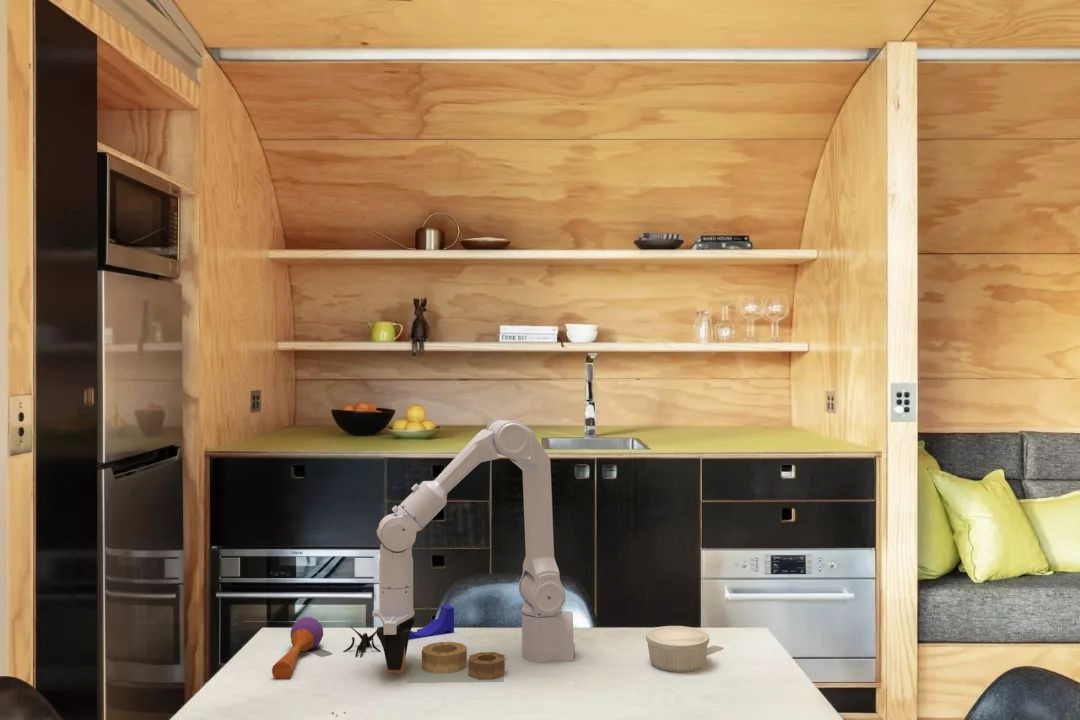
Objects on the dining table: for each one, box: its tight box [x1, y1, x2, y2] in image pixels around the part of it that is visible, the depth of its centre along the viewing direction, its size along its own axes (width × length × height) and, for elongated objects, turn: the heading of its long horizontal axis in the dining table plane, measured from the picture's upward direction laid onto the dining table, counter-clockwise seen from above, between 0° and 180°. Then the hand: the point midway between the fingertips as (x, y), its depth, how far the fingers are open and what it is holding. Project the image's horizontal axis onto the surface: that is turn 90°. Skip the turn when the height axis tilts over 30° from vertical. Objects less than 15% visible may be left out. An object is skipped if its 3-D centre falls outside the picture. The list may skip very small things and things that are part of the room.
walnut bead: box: [468, 651, 506, 680], centre depth 148 cm, size 6×6×3 cm
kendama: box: [271, 616, 324, 680], centre depth 159 cm, size 6×6×20 cm
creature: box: [342, 626, 382, 658], centre depth 160 cm, size 8×5×8 cm
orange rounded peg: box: [387, 648, 406, 674], centre depth 150 cm, size 3×3×7 cm
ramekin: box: [645, 625, 710, 673], centre depth 156 cm, size 11×11×5 cm
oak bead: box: [421, 641, 468, 674], centre depth 152 cm, size 8×8×3 cm
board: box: [406, 657, 506, 684], centre depth 150 cm, size 16×12×1 cm
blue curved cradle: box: [408, 603, 455, 641], centre depth 171 cm, size 12×4×6 cm, turn 119°
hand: (396, 665), depth 150 cm, fingers open, 4 cm apart
